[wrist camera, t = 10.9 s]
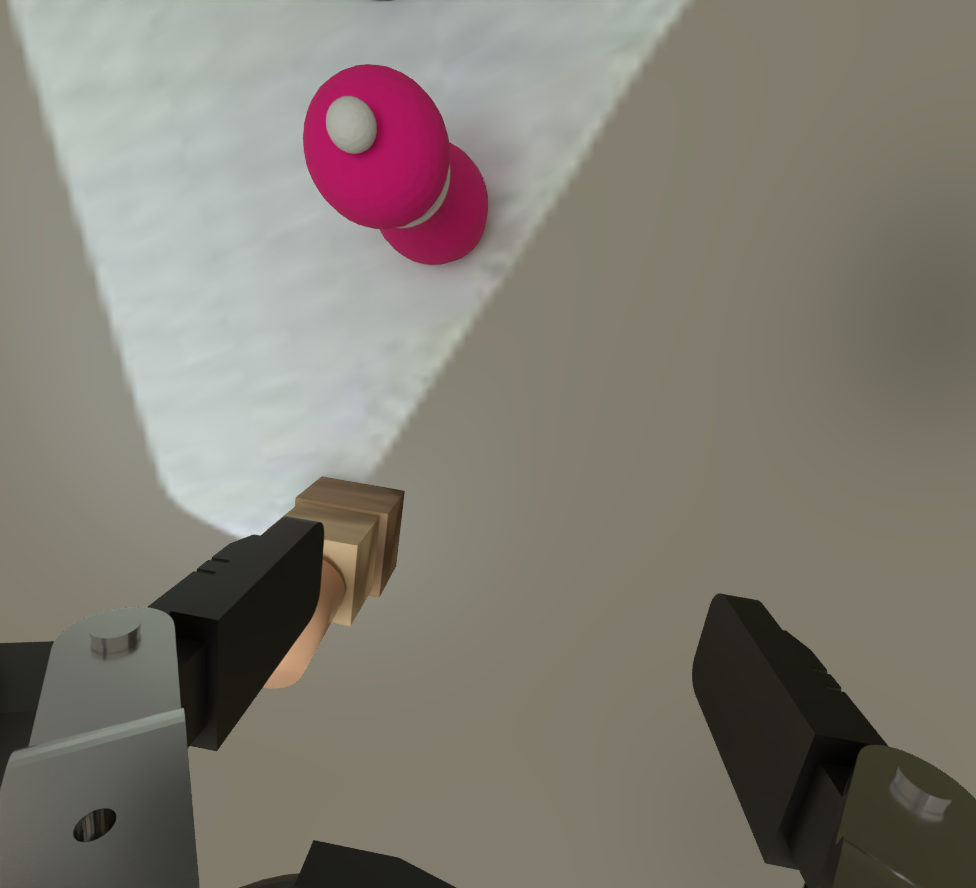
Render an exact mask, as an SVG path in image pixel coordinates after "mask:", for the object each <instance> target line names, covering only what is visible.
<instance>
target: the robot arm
mask: <svg viewBox="0 0 976 888" xmlns="http://www.w3.org/2000/svg"><path fill="white" fill-rule="evenodd" d="M323 548H324V526H323V524H322V523H321V522H318V521H312V520H306V519H301V518H295V517H289V516H284V517H283V518H281V519H280V520H279V521H278V522H276V523H275V524H274V525H273V526H272V527H270V528H269V529H268V530H267V531H266V532H264V533H263V534H262V535H261V536H259V535H251V536H248V537H246V538H243V539H241V540H238V541H236V542H233V543H230V544H229V545H227V546H226V547H225V548H223V549H222V550H221V551H219V552H218V553H217V554H216V555H214V556H213V557H212V559H211V560H208V561H206V562H205V563H204V564H202V565H201V566H200V567H199V568H198V569H197V571H196V572H192V573H191V574H190V575H188V576H187V577H186V578H184V579H183V580H182V581H180V582H179V583H178V584H177V585H175V586H174V587H173V588H171V589H170V590H169V591H168V592H166V593H165V594H164V595H162V596H161V597H160V598H158V599H157V600H156V601H155V602H153V603H152V604H151V605H149V606H148V607H125V608H118V609H113V610H108V611H104V612H100V613H97V614H94V615H92V616H89V617H87V618H84V619H82V620H80V621H78V622H76V623H75V624H73V625H71V626H70V627H68V628H67V629H66V630H65V631H63V632H62V633H61V634H60V635H59V636H58V637H57V639H56V640H55V641H51V642H22V643H0V888H199V876H198V865H197V853H196V841H195V830H194V818H193V806H192V795H191V783H190V771H189V760H188V747H189V746H193V747H198V748H203V749H208V750H213V751H217V750H218V749H219V748H220V746H221V745H222V743H223V742H224V741H225V739H226V738H227V736H228V735H229V734H230V732H231V731H232V729H233V728H234V727H235V725H236V724H237V722H238V721H239V720H240V718H241V717H242V715H243V714H244V713H245V711H246V710H247V709H248V707H249V706H250V704H251V703H252V701H253V700H254V699H255V697H256V696H257V695H258V693H259V692H260V690H261V689H262V688H263V686H264V685H265V684H266V682H267V681H268V679H269V678H270V677H271V675H272V674H273V672H274V671H275V670H276V668H277V667H278V665H279V664H280V663H281V661H282V660H283V658H284V657H285V656H286V654H287V653H288V651H289V650H290V649H291V647H292V646H293V645H294V643H295V642H296V640H297V639H298V638H299V636H300V635H301V633H302V632H303V631H304V629H305V628H306V626H307V625H308V624H309V622H310V621H311V619H312V617H313V615H314V613H315V610H316V608H317V605H318V601H319V597H320V590H321V577H322V563H323ZM692 681H693V688H694V692H695V695H696V698H697V700H698V702H699V705H700V707H701V710H702V712H703V715H704V717H705V719H706V722H707V724H708V727H709V729H710V731H711V733H712V736H713V739H714V741H715V743H716V746H717V748H718V751H719V753H720V756H721V758H722V760H723V763H724V765H725V768H726V770H727V772H728V775H729V777H730V779H731V782H732V785H733V787H734V789H735V792H736V794H737V797H738V799H739V801H740V803H741V806H742V809H743V811H744V813H745V816H746V818H747V821H748V823H749V825H750V828H751V830H752V833H753V835H754V838H755V840H756V843H757V845H758V847H759V850H760V852H761V855H762V857H763V859H764V862H765V863H767V864H772V865H777V866H782V867H787V868H792V869H797V870H800V873H801V875H802V877H803V879H804V881H805V883H804V885H803V887H802V888H976V799H975V798H974V797H973V796H972V795H971V794H970V793H969V792H968V791H967V790H966V789H965V788H964V787H962V786H961V785H960V784H959V783H958V782H957V781H955V780H954V779H953V778H951V777H950V776H949V775H947V774H946V773H944V772H943V771H941V770H940V769H938V768H937V767H935V766H934V765H932V764H930V763H928V762H926V761H925V760H923V759H921V758H919V757H917V756H915V755H913V754H910V753H908V752H905V751H903V750H899V749H897V748H893V747H889V746H888V745H887V744H886V743H885V741H884V740H883V739H882V738H881V736H880V735H879V734H878V733H877V731H876V730H875V729H874V728H873V726H872V725H871V724H870V723H869V722H868V720H867V719H866V718H865V716H864V715H863V714H862V713H861V711H860V710H859V709H858V708H857V707H856V705H855V704H854V703H853V702H852V700H851V699H850V698H849V697H848V695H847V694H846V693H845V692H841V687H840V686H839V684H838V683H837V682H836V680H835V679H834V678H833V677H832V676H831V675H830V674H827V669H826V668H825V667H824V666H823V664H822V663H821V662H820V661H819V659H818V658H817V657H816V656H815V654H814V653H813V652H812V651H811V650H810V649H809V648H808V647H806V646H805V645H804V644H803V643H801V642H800V641H799V640H797V639H796V638H795V637H793V636H792V635H791V634H790V633H788V632H787V631H785V630H782V629H781V627H780V626H779V625H778V624H777V622H776V621H775V620H774V618H773V617H772V616H771V614H770V613H769V612H768V610H767V609H766V608H765V607H764V605H763V604H762V603H761V602H760V601H758V600H754V599H748V598H743V597H737V596H732V595H725V594H717V595H716V596H714V598H713V599H712V601H711V604H710V607H709V611H708V614H707V617H706V620H705V624H704V627H703V631H702V634H701V637H700V640H699V644H698V647H697V651H696V654H695V657H694V661H693V669H692ZM240 888H456V887H454V886H452V885H450V884H448V883H446V882H444V881H443V880H441V879H439V878H437V877H435V876H433V875H431V874H429V873H427V872H425V871H423V870H421V869H420V868H418V867H416V866H414V865H412V864H410V863H408V862H406V861H404V860H402V859H400V858H397V857H393V856H388V855H383V854H378V853H373V852H368V851H364V850H358V849H354V848H349V847H344V846H340V845H334V844H330V843H325V842H320V841H315V840H314V841H313V843H312V845H311V848H310V850H309V853H308V855H307V857H306V860H305V862H304V864H303V867H302V869H301V872H300V873H299V874H288V875H282V876H278V877H273V878H268V879H263V880H260V881H257V882H254V883H252V884H248V885H246V886H242V887H240Z"/></svg>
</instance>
